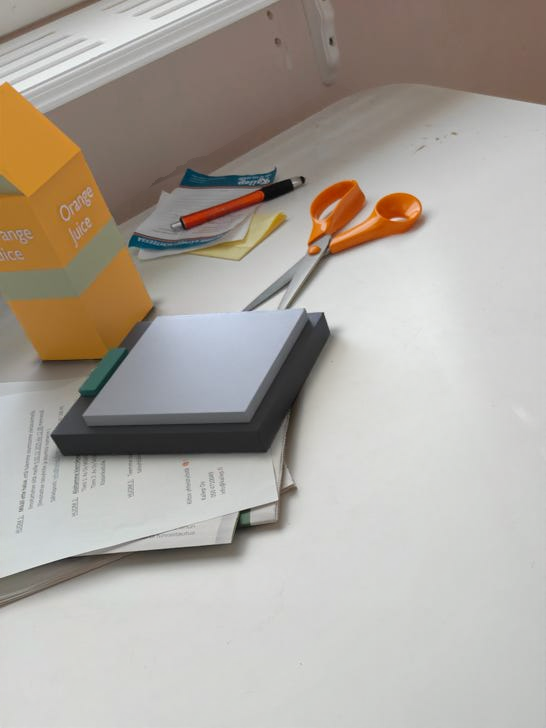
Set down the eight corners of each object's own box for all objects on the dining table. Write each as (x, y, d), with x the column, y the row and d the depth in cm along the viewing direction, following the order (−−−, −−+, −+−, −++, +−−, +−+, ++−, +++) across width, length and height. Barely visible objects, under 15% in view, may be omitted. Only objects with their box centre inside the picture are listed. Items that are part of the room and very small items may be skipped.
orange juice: (40, 360, 87) (-96, 132, 73) (86, 308, 93) (-32, 85, 78) (113, 358, 85) (-12, 122, 70) (156, 304, 91) (48, 75, 76)
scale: (62, 455, 76) (42, 424, 74) (146, 341, 86) (131, 311, 84) (266, 452, 71) (252, 419, 69) (330, 332, 81) (320, 300, 79)
